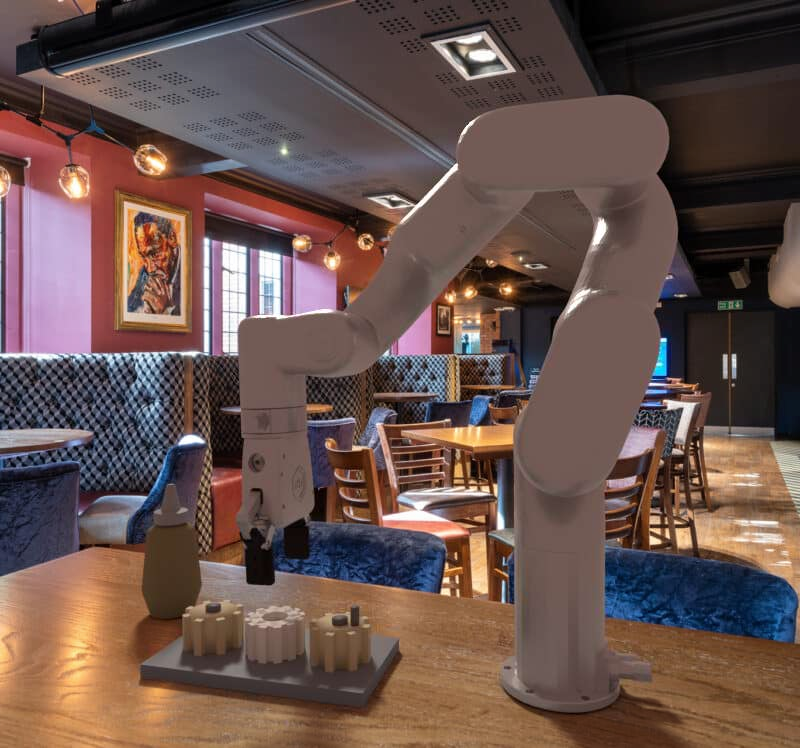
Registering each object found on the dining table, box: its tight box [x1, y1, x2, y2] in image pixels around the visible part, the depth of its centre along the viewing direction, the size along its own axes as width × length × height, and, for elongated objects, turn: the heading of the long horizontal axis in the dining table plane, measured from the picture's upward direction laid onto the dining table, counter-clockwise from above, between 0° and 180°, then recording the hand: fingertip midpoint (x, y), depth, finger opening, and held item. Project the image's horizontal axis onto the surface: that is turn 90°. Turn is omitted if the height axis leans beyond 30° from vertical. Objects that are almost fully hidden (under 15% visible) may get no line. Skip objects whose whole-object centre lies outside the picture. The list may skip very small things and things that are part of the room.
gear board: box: [139, 599, 400, 709], centre depth 78 cm, size 26×14×8 cm, turn 75°
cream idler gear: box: [244, 605, 306, 664], centre depth 78 cm, size 7×7×4 cm
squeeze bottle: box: [141, 483, 203, 620], centre depth 94 cm, size 8×8×18 cm
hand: (280, 570), depth 78 cm, fingers open, 9 cm apart
